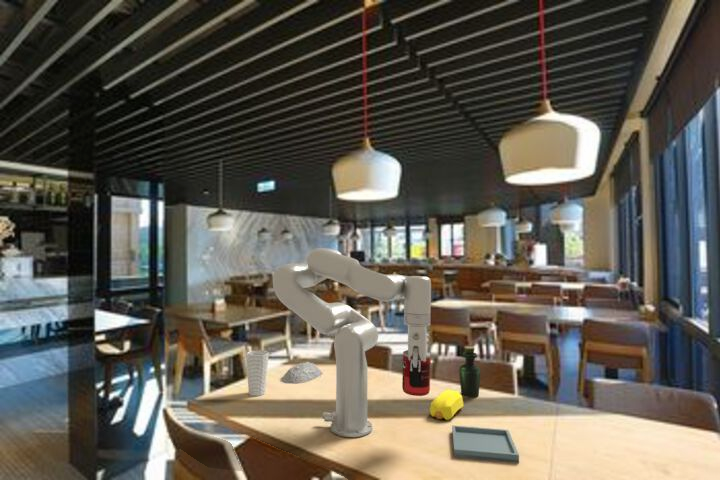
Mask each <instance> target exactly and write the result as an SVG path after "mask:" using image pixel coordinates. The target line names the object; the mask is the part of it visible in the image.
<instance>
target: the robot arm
mask: <svg viewBox="0 0 720 480" xmlns="http://www.w3.org/2000/svg"><path fill="white" fill-rule="evenodd" d="M327 279H330V280H331V281H334V282H338V283H340V284H342V285H345V286H347V287H348V288H350V289H352V290H353V291H355V292H356V293H358V294H360V295H363V296H366V297H368V298H371V299H373V300H377V301H380V302H385V303H386V302H391V301H395V300H396V301H397V300H401V299H402V300H403V299H404V304H403V305H404V306H403V307H404V308H403V309H404V310H403V324H404V325H405V326H407V350H408V359H409V361H411V367H410V378H409V385H410V386H421V371H420V370H421V361H424V362H426V355H427V352H428V350H427V349H428V346H427V345H428V327H429V326H431V312H432V311H431V309H432V307H431V305H432V304H431V303H432V282H431V281H432V280H431V279H430V278H429V277H428V276H425V275H424V276H423V275H422V276H421V275H411V276H408V275H403V274H397V273H395V274H394V273H393V274H384V273H380V272H377V271H374V270H372V269H368V268H366V267H364V266H362V265H361V264H360V262H359V260H358V259H356V258H354V257H350V256H347V255H344V254H342V253H341V252H340V251H339V250H337V249H335V248H324V247H317V248H314V249H313V250H311V251H310V252H309V253H308V255H307V256H306V262H301V263H299V262H297V263H296V262H295V263H286V264H282V265H280V266H279V267H277V268H276V270H274V273H273V276H272V287H273V290H274V293H275V295H276V297H277V299H278V300H279V301H280V302H281V303H282V304H283V305H284V306H285V307H287V308H288V309H289V310H291V312H293V313H295V314H296V315H297V316H299V317H300V318H301V319H302V320H303V321H305V322H306V323H307V324H308V325H310V326H311V327H312V328H314V330H316V331H317V332H318V333H320V334H322V335H332V334H335V333H336V334H335V335H334V338H333V346H334V347H333V348H334V353H335V362H336V368H335V369H336V372H335V373H336V379H335V381H336V382H335V383H336V384H335V386H336V388H335V390H336V391H335V393H336V394H335V411H333V412H332V413H331V412H325V411H324V412H322V415H321V416H322V419H323V420H324V422H328V423H330V422H331V423H330V431H331V432H332V433H333V434H335V436H336V435H337V436H339V437H344V438H359V437H360V438H361V437H364V436H367V435H368V434H370V433H371V432H372V431H373V424H372V422H370V421H369V420H368V380H369V379H368V378H369V377H368V362H367V358H366V351H368V350H370V349H372V348H374V346H375V345H376V344H377V343H378V340H379V332H378V329H377V327H376V326H375V324H374V323H373V322H371V321H370V320H369V319H368V318H366V317H365V316H364V315H362V314H361V313H359V312H358V311H356V309H354V308H352V307H351V306H350V305H348V304H346V303H344V302H339V301H338V302H326V301H324V300H322V298H320V297H318V296H317V295H316V294H315V293H313V292H312V291H310V290H307V289H306V288H311V287H313V286H315V285H317V284H319V283H321V282H323V281H325V280H327ZM412 355H413V359H412ZM418 356H420V358H419V360H418ZM410 357H411V359H410ZM418 363H419V364H418ZM418 367H419V368H418Z"/></svg>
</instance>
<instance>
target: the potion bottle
mask: <svg viewBox="0 0 720 480" xmlns="http://www.w3.org/2000/svg"><path fill="white" fill-rule="evenodd" d="M475 349H476V348H475V346H468V345H467V346H464V352H462V355H461V357H463V358H464V361H465V363H464V364H462V365H460V367H459V368H458V372H459V384H460V394H461V395H462V396H463V395H464V396H463V397H465V396H467V397H466V398H477V397H479V395H480V386H481V385H480V383H481V374H482V373H481V369H480V367H479V366H478V365H476V364H474V362H475V359H476V358H478V354H477V353H476V352H475Z"/></svg>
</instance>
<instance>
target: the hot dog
mask: <svg viewBox="0 0 720 480" xmlns="http://www.w3.org/2000/svg"><path fill="white" fill-rule="evenodd" d="M463 399H464V398H463V395H462V394H461V392H459V391H458V390H451V389H446V390H444V391H443V392H441V393H440V394H439V395H438V396H436V397H435V398H434V400H432V401H431V402H430V409H429V413H430V415H431V417H432V418H436V419H437V420H442V419H443V418H444V419H445V421H449V420H451V418H453V417H454V415H455V414H456V413H457V412H458V411H459V410H460V409H461V408H463V407H464V400H463Z"/></svg>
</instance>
